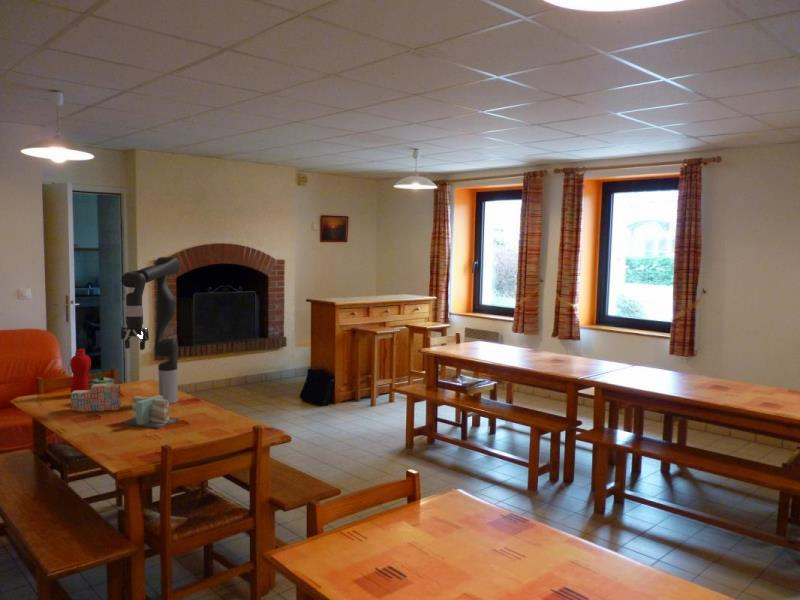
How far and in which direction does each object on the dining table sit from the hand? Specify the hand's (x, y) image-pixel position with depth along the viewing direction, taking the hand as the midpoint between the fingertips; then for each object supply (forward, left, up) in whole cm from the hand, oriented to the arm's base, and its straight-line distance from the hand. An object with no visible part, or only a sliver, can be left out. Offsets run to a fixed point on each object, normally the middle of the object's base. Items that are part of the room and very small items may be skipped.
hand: (135, 349), depth 293 cm
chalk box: (-23, -30, -32) cm, 50 cm away
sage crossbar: (+10, +12, -31) cm, 35 cm away
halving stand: (+10, +12, -32) cm, 36 cm away
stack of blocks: (-8, -24, -32) cm, 41 cm away
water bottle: (-33, -48, -32) cm, 67 cm away
